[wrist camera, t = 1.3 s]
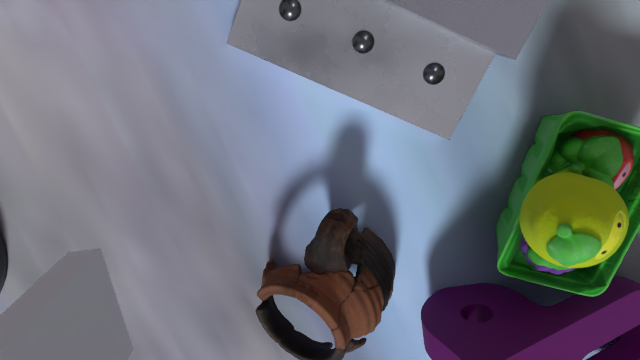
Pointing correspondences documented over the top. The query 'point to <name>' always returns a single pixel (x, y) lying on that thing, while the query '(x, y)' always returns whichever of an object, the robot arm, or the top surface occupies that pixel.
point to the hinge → (390, 48)
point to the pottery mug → (331, 288)
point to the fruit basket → (573, 204)
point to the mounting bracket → (531, 324)
